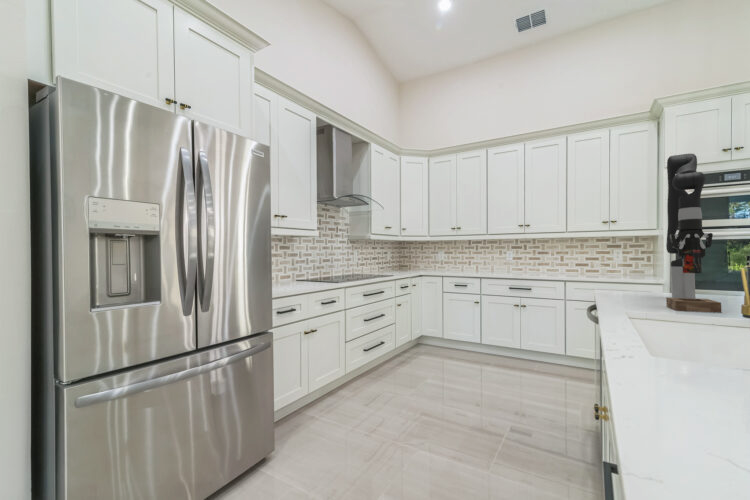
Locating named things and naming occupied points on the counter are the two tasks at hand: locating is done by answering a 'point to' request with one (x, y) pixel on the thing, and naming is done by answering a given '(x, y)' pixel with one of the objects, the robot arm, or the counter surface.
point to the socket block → (693, 305)
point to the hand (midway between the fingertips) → (691, 257)
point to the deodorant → (692, 256)
